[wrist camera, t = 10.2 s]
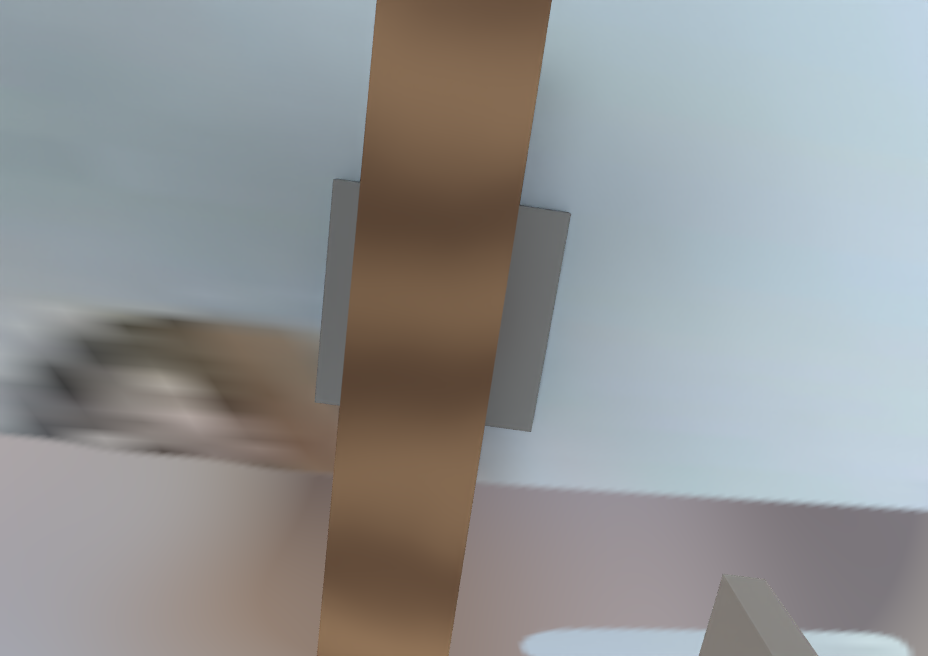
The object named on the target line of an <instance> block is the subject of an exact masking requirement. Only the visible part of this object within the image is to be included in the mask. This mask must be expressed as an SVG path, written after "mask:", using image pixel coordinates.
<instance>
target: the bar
mask: <svg viewBox="0 0 928 656" xmlns="http://www.w3.org/2000/svg"><path fill="white" fill-rule="evenodd" d="M551 2H552V0H377V3H376V14H375V25H374V36H373V47H372V58H371V69H370V80H369V91H368V102H367V113H366V124H365V135H364V146H363V157H362V168H361V179H360V190H359V200H358V211H357V222H356V233H355V244H354V255H353V266H352V277H351V288H350V299H349V310H348V321H347V332H346V343H345V354H344V365H343V376H342V387H341V398H340V409H339V420H338V431H337V442H336V452H335V463H334V474H333V486H332V497H331V509H330V519H329V529H328V541H327V551H326V562H325V574H324V584H323V595H322V606H321V617H320V628H319V639H318V650H317V656H448V655H449V649H450V643H451V636H452V630H453V624H454V617H455V611H456V604H457V598H458V592H459V585H460V579H461V573H462V566H463V560H464V554H465V547H466V541H467V534H468V528H469V522H470V515H471V509H472V503H473V497H474V490H475V484H476V478H477V471H478V465H479V459H480V452H481V446H482V440H483V433H484V427H485V421H486V414H487V408H488V401H489V395H490V389H491V382H492V376H493V370H494V363H495V357H496V351H497V344H498V338H499V332H500V325H501V319H502V313H503V306H504V300H505V294H506V287H507V281H508V275H509V268H510V262H511V256H512V249H513V243H514V237H515V230H516V224H517V217H518V211H519V205H520V198H521V192H522V186H523V179H524V173H525V167H526V160H527V154H528V148H529V141H530V135H531V129H532V122H533V116H534V110H535V103H536V97H537V91H538V84H539V78H540V72H541V65H542V59H543V53H544V46H545V40H546V33H547V27H548V21H549V14H550V8H551Z"/></svg>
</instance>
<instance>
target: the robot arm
mask: <svg viewBox="0 0 928 656" xmlns="http://www.w3.org/2000/svg"><path fill="white" fill-rule="evenodd" d="M699 656H818V655H817V653H816V652H815V650H814V649H813V648H812V646H811V645H810V643H809V642H808V640H807V639H806V638H805V636H804V635H803V633H802V632H801V630H800V629H799V628H798V626H797V625H796V623H795V622H794V620H793V619H792V617H791V616H790V615H789V613H788V612H787V610H786V609H785V607H784V606H783V605H782V603H781V602H780V600H779V599H778V597H777V596H776V595H775V593H774V592H773V590H772V589H771V587H770V586H769V585H768V583H767V582H766V580H765V579H759V578H751V577H743V576H735V575H726V574H723V575H722V579H721V582H720V586H719V589H718V592H717V596H716V599H715V603H714V606H713V609H712V613H711V616H710V620H709V623H708V626H707V630H706V633H705V637H704V640H703V643H702V647H701V650H700V653H699Z"/></svg>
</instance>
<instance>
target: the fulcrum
mask: <svg viewBox="0 0 928 656" xmlns="http://www.w3.org/2000/svg"><path fill="white" fill-rule="evenodd" d="M359 190H360V182H356V181H349V180H342V179H333V190H332V202H331V214H330V226H329V238H328V250H327V262H326V274H325V285H324V297H323V309H322V321H321V333H320V345H319V357H318V369H317V381H316V393H315V402H317V403H324V404H331V405H339V406H340V398H341V387H342V376H343V365H344V354H345V343H346V332H347V321H348V310H349V299H350V288H351V277H352V266H353V255H354V244H355V233H356V222H357V211H358V200H359ZM570 216H571V214H570V213H569V212H563V211H556V210H549V209H542V208H535V207H529V206H522V205H519V211H518V217H517V224H516V230H515V237H514V243H513V249H512V256H511V262H510V268H509V275H508V281H507V287H506V294H505V300H504V306H503V313H502V319H501V325H500V332H499V338H498V344H497V351H496V357H495V363H494V370H493V376H492V382H491V389H490V395H489V401H488V408H487V414H486V421H485V426H491V427H499V428H506V429H513V430H521V431H528V432H531V429H532V424H533V418H534V413H535V407H536V402H537V396H538V391H539V385H540V380H541V375H542V369H543V364H544V358H545V353H546V347H547V342H548V336H549V331H550V325H551V320H552V314H553V309H554V303H555V298H556V293H557V287H558V282H559V276H560V271H561V265H562V260H563V254H564V249H565V243H566V238H567V232H568V227H569V221H570Z"/></svg>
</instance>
